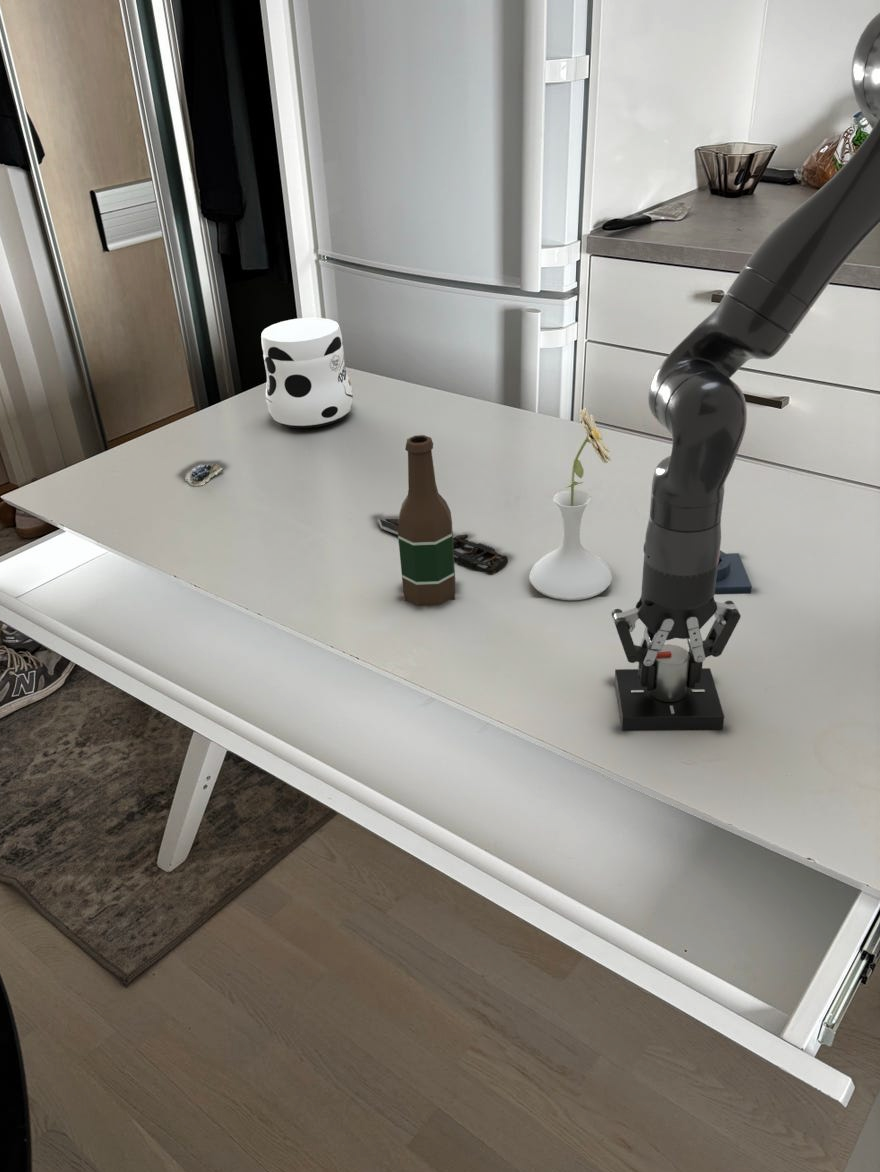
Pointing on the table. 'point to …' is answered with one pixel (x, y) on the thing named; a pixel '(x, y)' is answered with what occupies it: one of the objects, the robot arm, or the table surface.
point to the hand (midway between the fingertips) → (668, 684)
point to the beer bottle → (425, 532)
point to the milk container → (306, 373)
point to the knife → (467, 557)
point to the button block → (731, 575)
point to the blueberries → (202, 474)
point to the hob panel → (667, 706)
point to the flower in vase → (574, 538)
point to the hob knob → (671, 673)
